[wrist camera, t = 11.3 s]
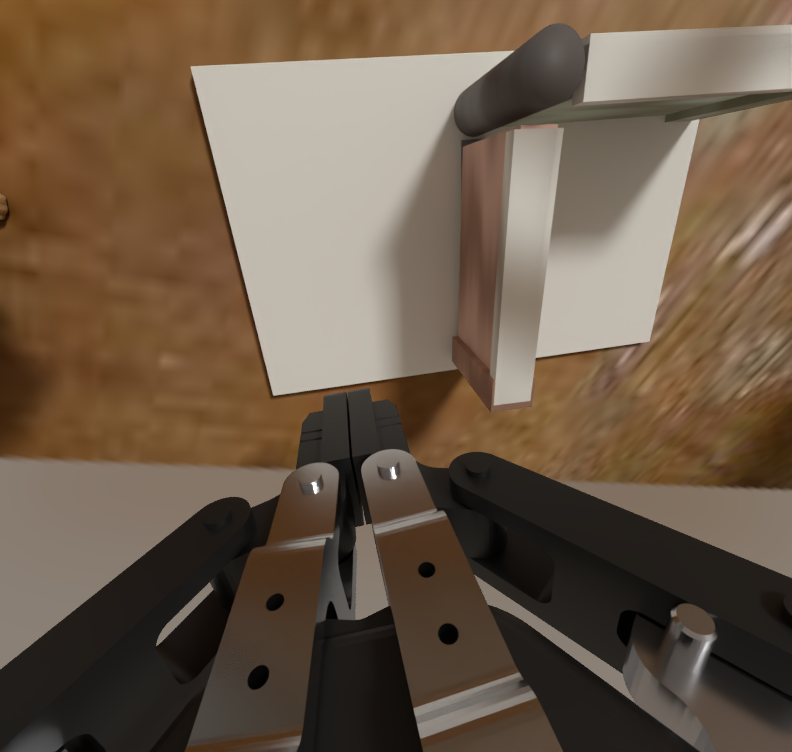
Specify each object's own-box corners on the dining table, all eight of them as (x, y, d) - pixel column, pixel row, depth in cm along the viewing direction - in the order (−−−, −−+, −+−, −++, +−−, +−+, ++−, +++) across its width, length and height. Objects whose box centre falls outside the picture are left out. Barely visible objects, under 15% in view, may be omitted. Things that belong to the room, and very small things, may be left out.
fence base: (703, 72, 17) (894, 9, 11) (693, 120, 18) (866, 84, 12) (453, 87, 16) (525, 24, 10) (454, 138, 17) (521, 107, 11)
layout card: (708, 44, 17) (719, 40, 16) (644, 339, 23) (650, 342, 23) (193, 69, 14) (189, 65, 14) (274, 392, 21) (273, 396, 20)
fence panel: (456, 147, 16) (511, 125, 11) (495, 145, 17) (567, 124, 12) (451, 361, 21) (490, 412, 16) (483, 357, 21) (531, 406, 16)
